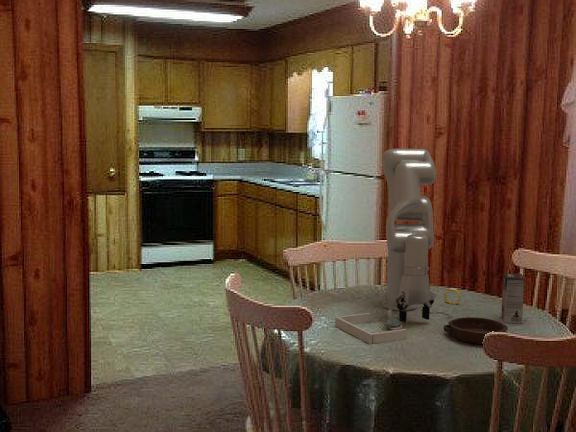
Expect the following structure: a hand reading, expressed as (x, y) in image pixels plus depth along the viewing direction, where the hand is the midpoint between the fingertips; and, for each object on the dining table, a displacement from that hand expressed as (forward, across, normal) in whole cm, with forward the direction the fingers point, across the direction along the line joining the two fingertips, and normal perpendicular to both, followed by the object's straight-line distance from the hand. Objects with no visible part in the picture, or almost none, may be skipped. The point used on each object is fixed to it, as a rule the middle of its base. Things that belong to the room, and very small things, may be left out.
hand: (414, 320), depth 224 cm
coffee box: (+2, -36, +9) cm, 37 cm away
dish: (+2, -9, +21) cm, 23 cm away
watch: (+2, -32, -18) cm, 37 cm away
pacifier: (+2, +8, 0) cm, 9 cm away
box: (+2, +18, 0) cm, 18 cm away
